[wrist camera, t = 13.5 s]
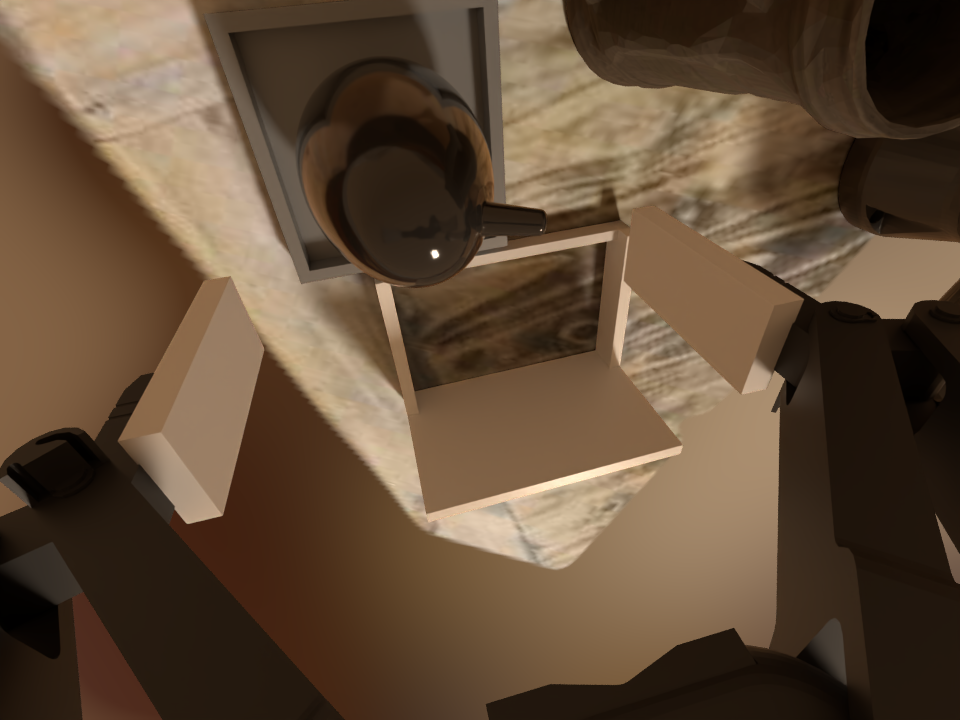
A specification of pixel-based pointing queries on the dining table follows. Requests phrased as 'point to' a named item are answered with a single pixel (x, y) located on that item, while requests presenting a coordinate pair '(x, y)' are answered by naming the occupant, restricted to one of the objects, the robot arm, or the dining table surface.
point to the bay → (533, 403)
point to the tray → (323, 49)
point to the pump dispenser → (401, 173)
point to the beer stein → (789, 55)
